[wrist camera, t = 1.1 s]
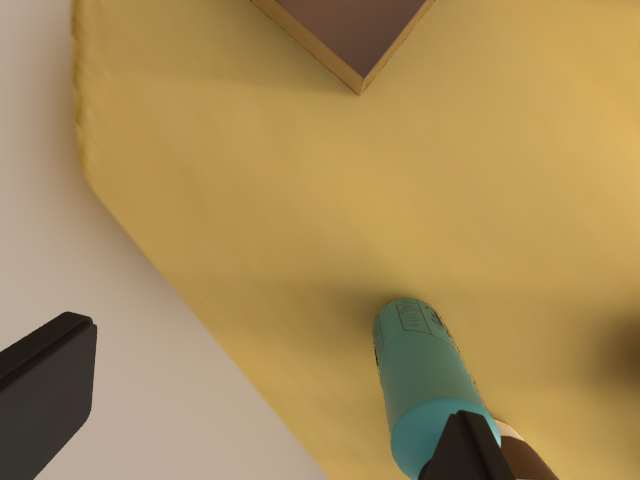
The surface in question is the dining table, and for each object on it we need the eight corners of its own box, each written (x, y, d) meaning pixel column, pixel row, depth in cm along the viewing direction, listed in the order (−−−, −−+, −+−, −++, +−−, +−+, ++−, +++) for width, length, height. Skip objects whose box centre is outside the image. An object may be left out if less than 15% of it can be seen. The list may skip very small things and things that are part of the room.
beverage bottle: (357, 328, 37) (369, 536, 18) (396, 275, 35) (455, 442, 16) (412, 360, 38) (482, 596, 18) (453, 310, 36) (576, 512, 17)
